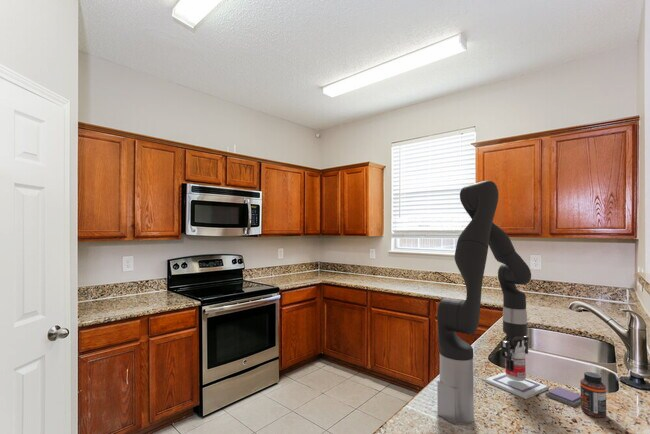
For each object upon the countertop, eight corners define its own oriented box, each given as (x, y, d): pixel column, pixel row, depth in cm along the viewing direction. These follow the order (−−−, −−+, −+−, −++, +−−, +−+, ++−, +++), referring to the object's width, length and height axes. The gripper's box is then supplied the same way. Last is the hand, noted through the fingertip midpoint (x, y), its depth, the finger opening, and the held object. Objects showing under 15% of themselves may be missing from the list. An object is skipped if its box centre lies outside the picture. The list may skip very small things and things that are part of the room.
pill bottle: (508, 372, 119) (507, 341, 119) (527, 377, 114) (527, 345, 115) (503, 377, 114) (503, 345, 115) (523, 383, 110) (522, 350, 110)
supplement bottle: (575, 407, 100) (574, 369, 101) (595, 407, 100) (594, 370, 100) (591, 418, 94) (590, 378, 95) (612, 419, 94) (611, 378, 94)
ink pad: (574, 407, 100) (574, 402, 100) (545, 395, 107) (545, 391, 107) (585, 400, 104) (585, 395, 104) (557, 390, 111) (557, 385, 111)
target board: (526, 399, 104) (526, 395, 104) (485, 381, 116) (485, 378, 116) (548, 389, 112) (547, 385, 112) (507, 373, 124) (507, 370, 124)
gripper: (514, 325, 108) (515, 377, 107) (536, 320, 116) (537, 368, 115) (492, 320, 115) (493, 368, 114) (515, 315, 122) (515, 361, 121)
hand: (515, 368), depth 114 cm, fingers closed on pill bottle, 6 cm apart
